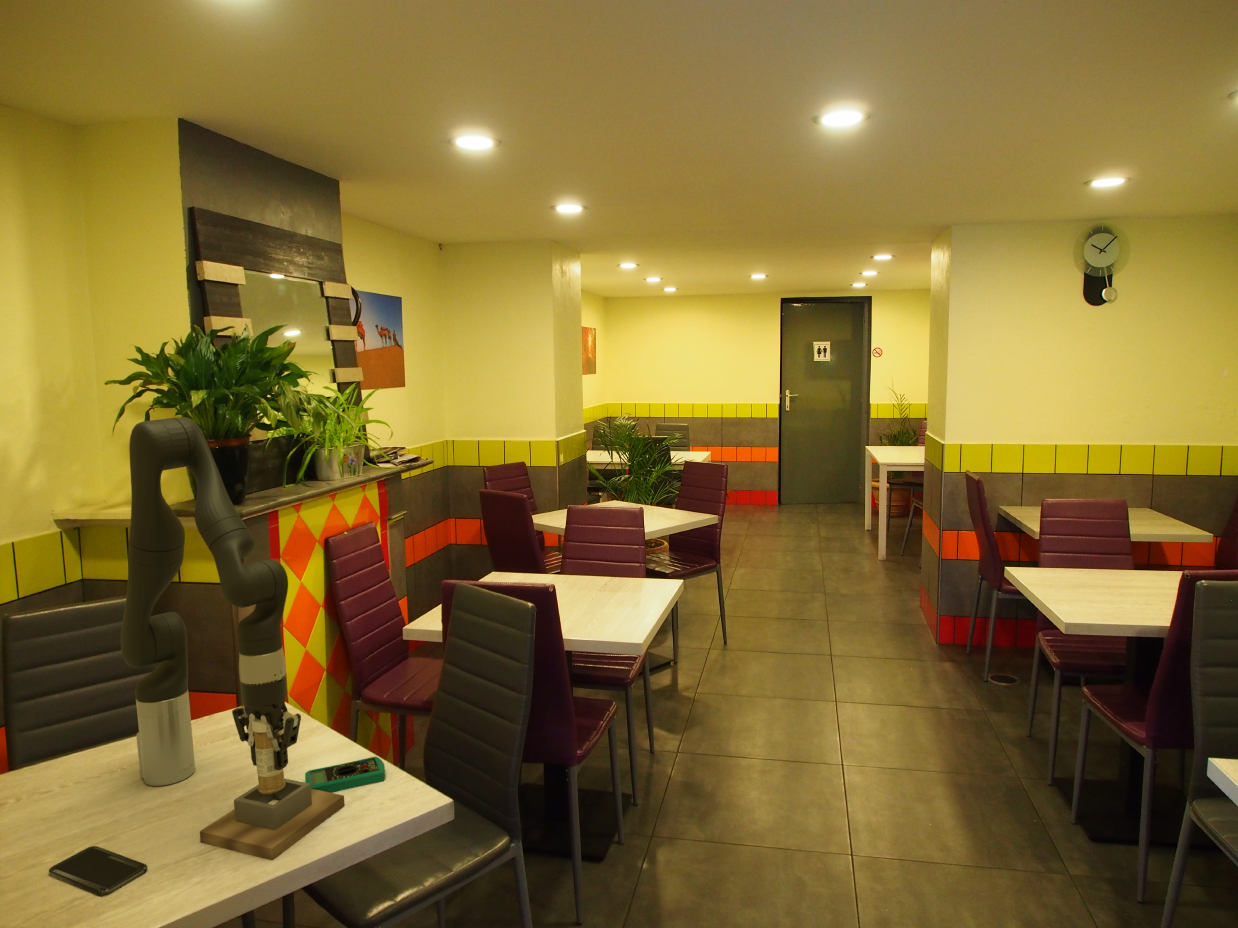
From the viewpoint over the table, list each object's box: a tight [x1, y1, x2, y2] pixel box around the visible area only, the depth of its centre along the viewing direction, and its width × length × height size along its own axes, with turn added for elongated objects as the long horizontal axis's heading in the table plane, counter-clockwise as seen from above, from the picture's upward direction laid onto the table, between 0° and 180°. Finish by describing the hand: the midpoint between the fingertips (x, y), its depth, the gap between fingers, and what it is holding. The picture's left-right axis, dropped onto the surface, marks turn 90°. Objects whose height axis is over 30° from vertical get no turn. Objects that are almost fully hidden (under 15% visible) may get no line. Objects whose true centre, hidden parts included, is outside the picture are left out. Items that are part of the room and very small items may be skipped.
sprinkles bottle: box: [252, 719, 285, 794], centre depth 147 cm, size 5×5×14 cm
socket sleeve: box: [233, 777, 312, 830], centre depth 148 cm, size 9×9×4 cm
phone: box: [48, 845, 148, 897], centre depth 135 cm, size 8×1×15 cm
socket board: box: [199, 789, 345, 861], centre depth 148 cm, size 16×18×2 cm
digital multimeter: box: [304, 756, 386, 793], centre depth 163 cm, size 7×15×3 cm, turn 115°
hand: (270, 765), depth 147 cm, fingers closed on sprinkles bottle, 4 cm apart
